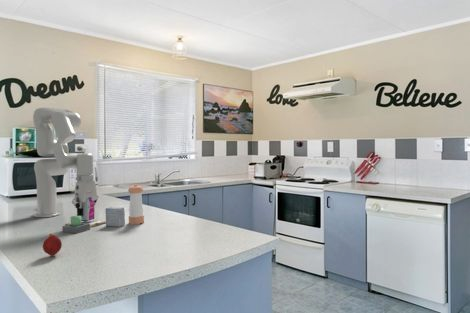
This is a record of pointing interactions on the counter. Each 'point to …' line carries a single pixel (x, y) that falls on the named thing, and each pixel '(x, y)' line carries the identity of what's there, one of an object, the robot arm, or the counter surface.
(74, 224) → the button
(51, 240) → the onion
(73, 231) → the button box
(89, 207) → the supplement box
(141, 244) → the counter surface
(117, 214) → the medicine box
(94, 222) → the wooden picture frame
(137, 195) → the pepper shaker
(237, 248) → the counter surface
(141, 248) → the counter surface
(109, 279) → the counter surface
